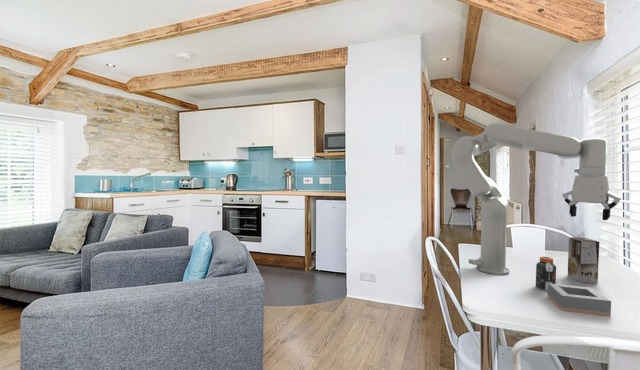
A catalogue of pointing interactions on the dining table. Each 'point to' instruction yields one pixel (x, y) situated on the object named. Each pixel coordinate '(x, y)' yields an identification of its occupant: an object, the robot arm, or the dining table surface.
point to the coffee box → (583, 259)
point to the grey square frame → (579, 299)
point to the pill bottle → (545, 273)
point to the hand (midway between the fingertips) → (588, 218)
